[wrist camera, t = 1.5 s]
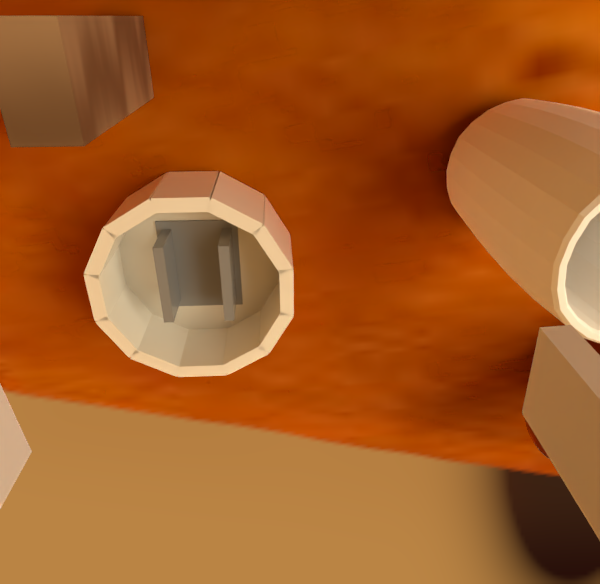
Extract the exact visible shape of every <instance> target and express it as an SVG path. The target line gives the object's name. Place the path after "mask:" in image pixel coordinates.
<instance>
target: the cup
mask: <svg viewBox="0 0 600 584" xmlns="http://www.w3.org/2000/svg"><path fill="white" fill-rule="evenodd" d="M446 173H447V190H448V194H449V198H450V202H451V204H452V205H453V207H454V208H455V210H456V211H457V213H458V214H459V215H460V217H461V218H462V219H463V221H464V222H465V223H466V225H467V226H468V227H469V229H470V230H471V231H472V233H473V234H474V235H475V236H476V238H477V239H478V240H479V242H480V243H481V244H482V245H483V246H484V248H485V249H486V250H487V251H488V252H489V254H490V255H491V256H492V257H493V258H494V259H495V261H496V262H497V263H498V264H499V265H500V266H501V267H502V268H503V269H504V271H505V272H506V273H507V274H508V275H509V276H510V277H511V278H512V279H513V280H514V281H515V282H516V283H517V284H518V285H519V286H520V287H521V288H523V289H524V290H525V291H526V292H527V293H528V294H529V295H530V296H531V297H532V298H533V299H534V300H535V301H537V302H538V303H539V304H540V305H541V306H543V307H544V308H545V309H546V310H548V311H549V312H550V313H551V314H552V315H554V316H555V317H556V318H557V319H559V320H560V321H561V322H562V323H563V324H565V325H572V326H573V327H574V328H575V329H576V330H577V332H578V333H579V334H580V335H581V336H582V337H583V338H584V339H588V340H591V341H594V342H597V343H600V112H598V111H594V110H589V109H585V108H581V107H576V106H571V105H565V104H560V103H555V102H548V101H541V100H534V99H527V98H522V99H517V100H513V101H508V102H504V103H502V104H500V105H498V106H496V107H493V108H491V109H489V110H487V111H486V112H484V113H483V114H482V115H481V116H479V117H478V118H477V119H475V120H474V121H473V122H472V123H471V124H470V125H469V126H468V127H467V128H466V129H465V130H464V132H463V133H462V134H461V135H460V136H459V137H458V139H457V142H456V144H455V146H454V148H453V150H452V152H451V155H450V159H449V163H448V167H447V171H446Z"/></svg>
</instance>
